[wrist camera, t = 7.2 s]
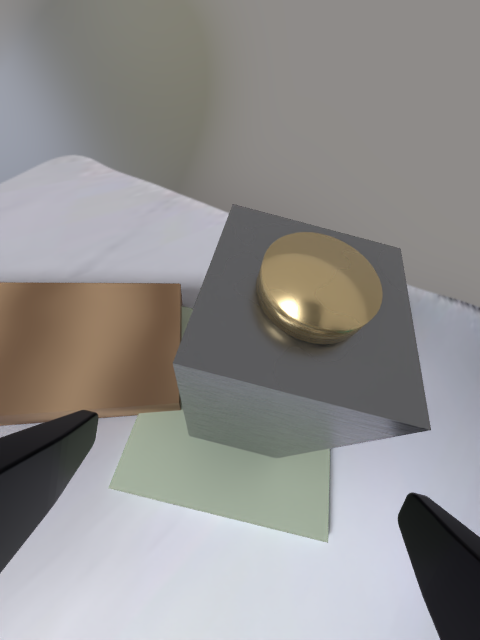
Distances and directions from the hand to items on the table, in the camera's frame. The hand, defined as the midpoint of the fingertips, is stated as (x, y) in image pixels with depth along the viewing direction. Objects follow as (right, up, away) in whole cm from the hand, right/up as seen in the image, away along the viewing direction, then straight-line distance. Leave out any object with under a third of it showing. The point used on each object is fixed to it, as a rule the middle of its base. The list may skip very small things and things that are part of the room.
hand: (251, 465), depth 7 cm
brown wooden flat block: (-11, +2, +7) cm, 13 cm away
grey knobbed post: (0, 0, +7) cm, 7 cm away
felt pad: (0, -1, +7) cm, 7 cm away
